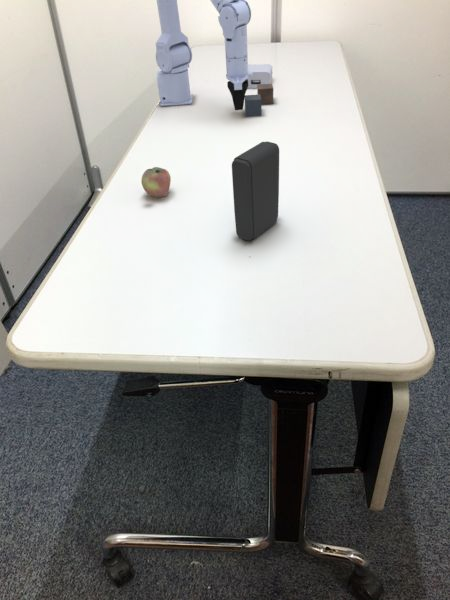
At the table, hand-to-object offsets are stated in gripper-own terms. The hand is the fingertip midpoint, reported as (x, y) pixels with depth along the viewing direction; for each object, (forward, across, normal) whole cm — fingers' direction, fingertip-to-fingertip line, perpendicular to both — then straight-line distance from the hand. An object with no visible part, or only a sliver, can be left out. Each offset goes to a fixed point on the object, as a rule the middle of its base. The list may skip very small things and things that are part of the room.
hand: (238, 109), depth 129 cm
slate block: (+2, 0, -4) cm, 4 cm away
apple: (+2, -45, +18) cm, 48 cm away
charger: (+2, +30, -7) cm, 31 cm away
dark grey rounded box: (+2, -60, -2) cm, 60 cm away
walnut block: (+1, +9, -8) cm, 12 cm away
